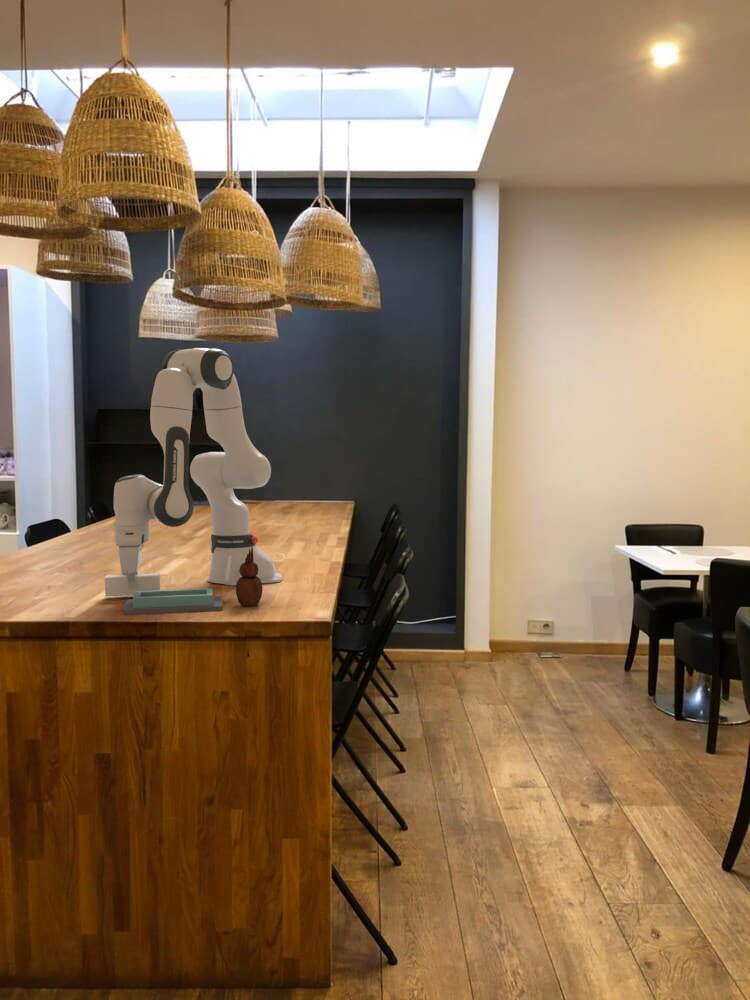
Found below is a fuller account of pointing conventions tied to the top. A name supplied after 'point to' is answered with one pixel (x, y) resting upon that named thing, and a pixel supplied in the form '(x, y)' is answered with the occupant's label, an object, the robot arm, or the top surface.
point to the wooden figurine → (249, 583)
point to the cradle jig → (172, 601)
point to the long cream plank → (119, 584)
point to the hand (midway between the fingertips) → (133, 585)
